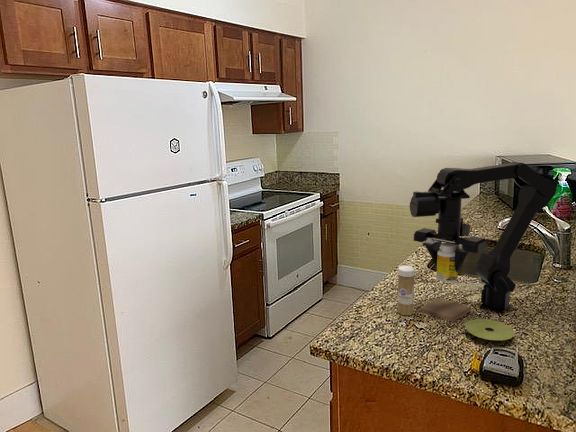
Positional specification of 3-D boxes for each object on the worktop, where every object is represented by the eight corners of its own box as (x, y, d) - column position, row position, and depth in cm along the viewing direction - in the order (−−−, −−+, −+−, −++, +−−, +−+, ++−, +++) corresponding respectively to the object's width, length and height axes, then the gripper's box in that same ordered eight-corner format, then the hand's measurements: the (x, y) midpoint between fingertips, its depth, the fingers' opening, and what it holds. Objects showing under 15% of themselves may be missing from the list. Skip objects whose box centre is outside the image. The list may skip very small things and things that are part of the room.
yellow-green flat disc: (498, 352, 100) (499, 344, 100) (455, 334, 109) (456, 327, 109) (522, 337, 107) (523, 330, 106) (480, 321, 116) (480, 314, 115)
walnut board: (470, 310, 122) (470, 307, 122) (453, 321, 116) (453, 318, 116) (438, 300, 130) (438, 297, 130) (420, 310, 123) (420, 307, 123)
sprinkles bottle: (396, 314, 121) (397, 269, 119) (398, 308, 126) (399, 264, 123) (412, 317, 120) (414, 271, 117) (414, 310, 124) (415, 265, 121)
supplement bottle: (448, 284, 117) (450, 248, 115) (432, 279, 122) (433, 244, 119) (461, 280, 120) (463, 244, 118) (444, 274, 125) (446, 240, 122)
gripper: (497, 214, 115) (493, 269, 119) (433, 206, 129) (432, 255, 132) (478, 221, 108) (475, 280, 111) (413, 212, 122) (411, 264, 125)
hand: (447, 269), depth 120 cm, fingers closed on supplement bottle, 5 cm apart
